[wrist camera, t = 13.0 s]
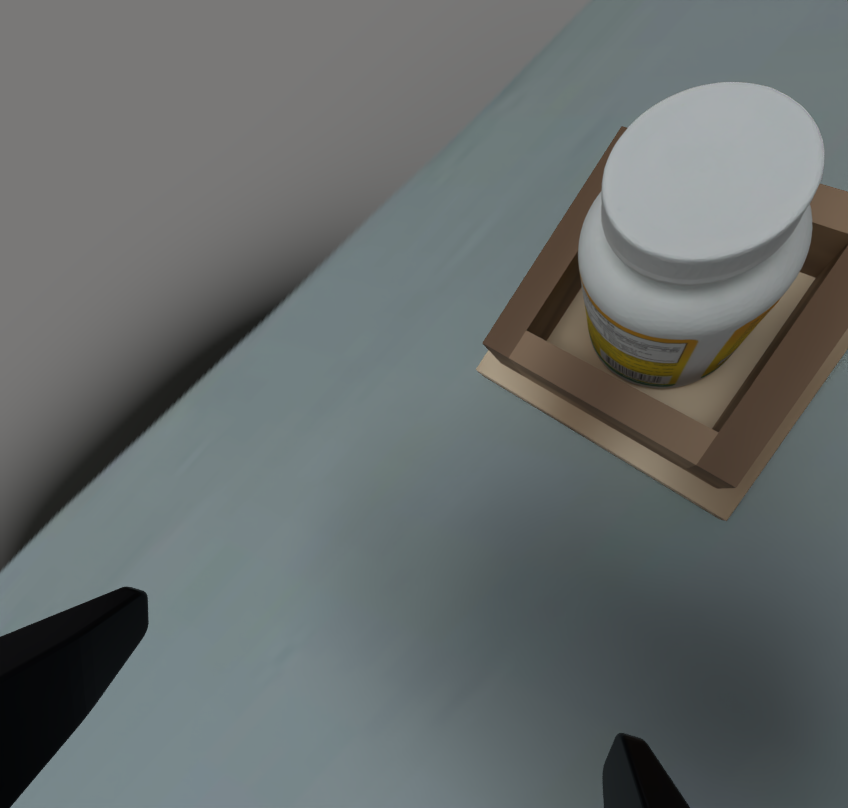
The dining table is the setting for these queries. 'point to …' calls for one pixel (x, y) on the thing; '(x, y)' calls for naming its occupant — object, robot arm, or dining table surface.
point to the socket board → (686, 405)
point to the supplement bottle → (697, 229)
